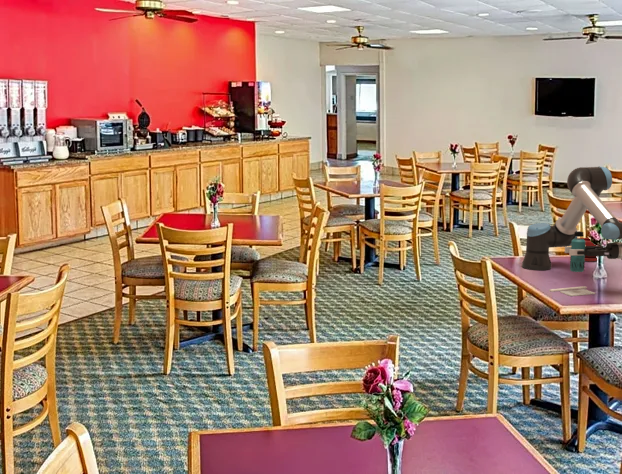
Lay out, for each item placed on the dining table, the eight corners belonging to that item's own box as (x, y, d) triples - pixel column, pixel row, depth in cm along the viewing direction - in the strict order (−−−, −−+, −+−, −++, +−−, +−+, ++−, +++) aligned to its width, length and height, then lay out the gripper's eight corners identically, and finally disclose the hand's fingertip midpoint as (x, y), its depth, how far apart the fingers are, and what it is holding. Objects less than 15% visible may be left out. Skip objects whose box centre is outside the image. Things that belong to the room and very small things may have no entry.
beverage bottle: (567, 272, 373) (568, 230, 371) (580, 272, 374) (582, 230, 371) (572, 275, 367) (574, 232, 364) (586, 275, 368) (588, 232, 365)
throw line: (549, 290, 375) (549, 289, 375) (584, 287, 382) (584, 286, 382) (551, 291, 373) (551, 290, 373) (586, 288, 380) (586, 287, 380)
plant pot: (603, 262, 438) (605, 241, 436) (579, 262, 438) (581, 241, 436) (595, 257, 451) (596, 237, 449) (572, 257, 451) (573, 236, 449)
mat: (559, 292, 372) (559, 291, 372) (584, 289, 377) (584, 289, 377) (570, 296, 365) (570, 295, 365) (595, 293, 370) (595, 293, 370)
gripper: (624, 262, 361) (574, 263, 360) (608, 254, 379) (560, 255, 378) (625, 246, 359) (574, 246, 359) (609, 239, 378) (560, 239, 377)
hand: (567, 251), depth 368 cm, fingers closed on beverage bottle, 6 cm apart
